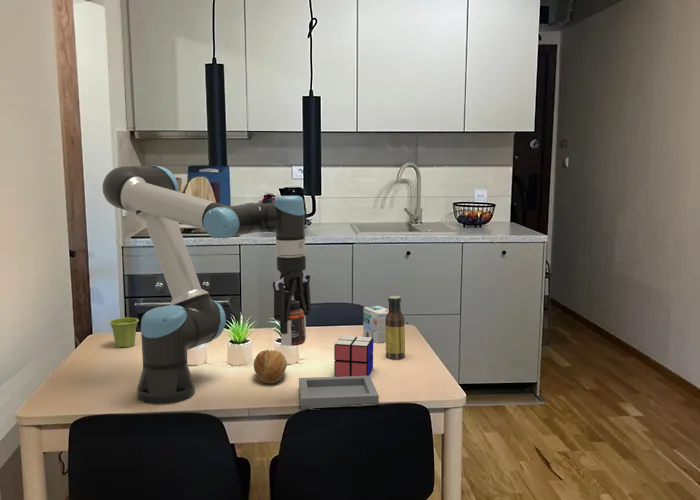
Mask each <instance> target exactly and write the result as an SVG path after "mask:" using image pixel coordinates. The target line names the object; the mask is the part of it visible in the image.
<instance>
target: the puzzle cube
mask: <svg viewBox="0 0 700 500" xmlns="http://www.w3.org/2000/svg"><path fill="white" fill-rule="evenodd" d="M333 350H334V352H333V353H334V355H333V357H334V363H333V365H334V367H333V369H334V371H333V372H334V373H333V375H334V376H333V377H335V376H336V377H342V376H370V374H371V372H372V371H373V369H374V354H373V353H374V341H373V338H372V337H364V336H357V335H356V336H355V335H341V336H340V337H339V338H338V340H337V341H336V342H335V343H334V347H333Z"/></svg>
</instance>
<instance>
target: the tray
mask: <svg viewBox="0 0 700 500" xmlns="http://www.w3.org/2000/svg"><path fill="white" fill-rule="evenodd" d="M298 393H299V400H300V401H299V402H300V407H301V408H300V409H301V411H303V410H306V409H310V410H314V409H313V408H319V407H332V406H351V405H362V404H379V400H380V399H379V397H380V395H379V393H378V391H377V389H376V386H375V385H374V382H373V380H372V378H371V376H370V375H369V376H342V377H335V376H319V377H318V376H317V377H316V376H313V377H298Z"/></svg>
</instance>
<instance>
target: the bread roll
mask: <svg viewBox="0 0 700 500" xmlns="http://www.w3.org/2000/svg"><path fill="white" fill-rule="evenodd" d="M287 366H288V361H287V359H286V356H285V355H284V353H282V351H278V350H272V349H271V350H269V349H266V350H262V351H259V353H257V355H256V357H255V359H254V361H253V370H254V373H255V374H256V376H257V377H258V379H259V380H260V381H262V382H264V383H266V384H274V383H277V382H279V380H281V379H282V377H283V376H284V374H285V371H286V369H287Z"/></svg>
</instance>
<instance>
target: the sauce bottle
mask: <svg viewBox="0 0 700 500" xmlns="http://www.w3.org/2000/svg"><path fill="white" fill-rule="evenodd" d="M401 302H402V298H401V296H399V295H390V296H388V310H389V312H388V314H387V316H386V321H385V337H386V342H385V355H386V358H388V359H390V360H401V359H403V358H404V357H405V355H406V353H405V352H406V344H405V342H406V340H405V339H406V338H405V337H406V336H405V335H406V333H405V332H406V331H405V330H406V328H405V316H404V314H403V313H402V308H401Z"/></svg>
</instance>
